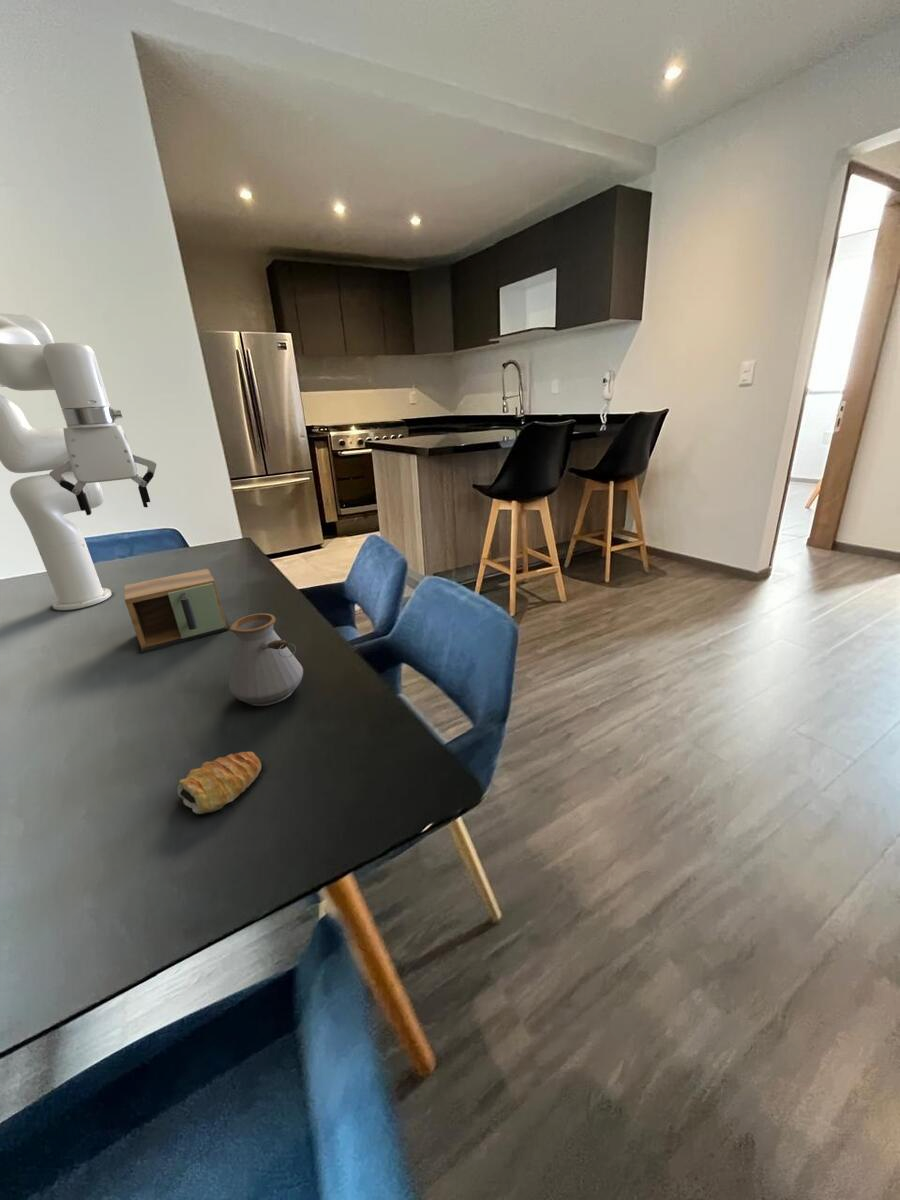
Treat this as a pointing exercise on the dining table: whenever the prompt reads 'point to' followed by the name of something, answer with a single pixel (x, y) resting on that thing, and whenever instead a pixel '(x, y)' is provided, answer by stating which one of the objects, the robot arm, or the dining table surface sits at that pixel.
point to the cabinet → (163, 608)
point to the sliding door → (196, 610)
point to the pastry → (218, 781)
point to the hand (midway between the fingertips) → (118, 510)
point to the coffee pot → (262, 663)
